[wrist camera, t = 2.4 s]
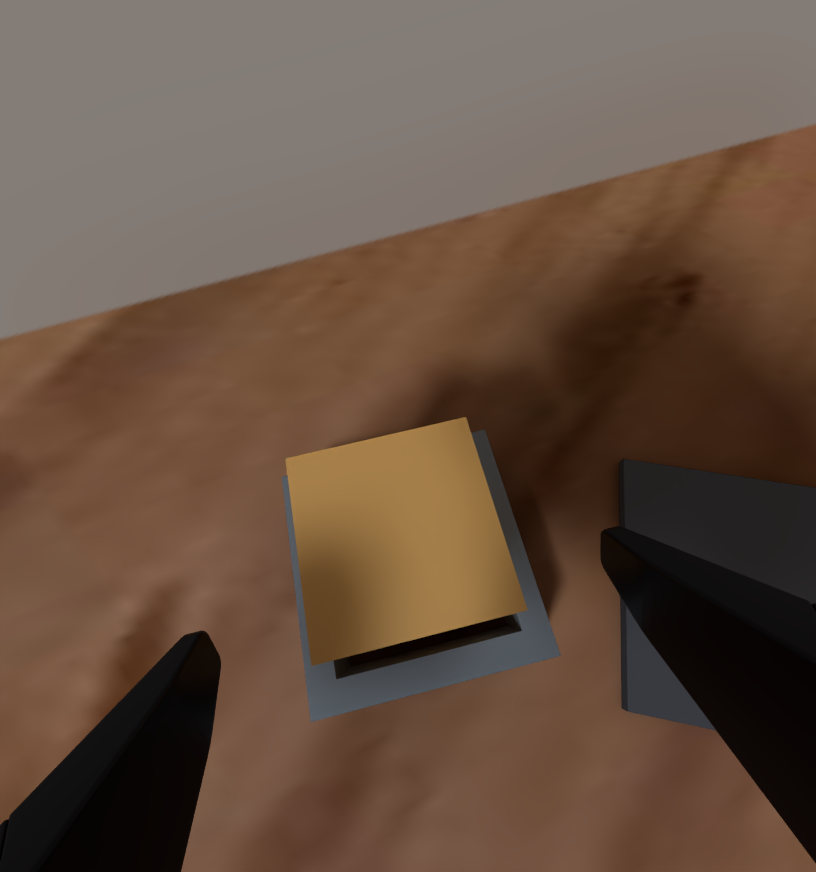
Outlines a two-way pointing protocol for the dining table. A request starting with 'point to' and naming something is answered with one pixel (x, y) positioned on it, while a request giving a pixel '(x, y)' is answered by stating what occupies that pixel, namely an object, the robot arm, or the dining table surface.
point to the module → (397, 541)
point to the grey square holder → (442, 663)
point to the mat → (710, 556)
